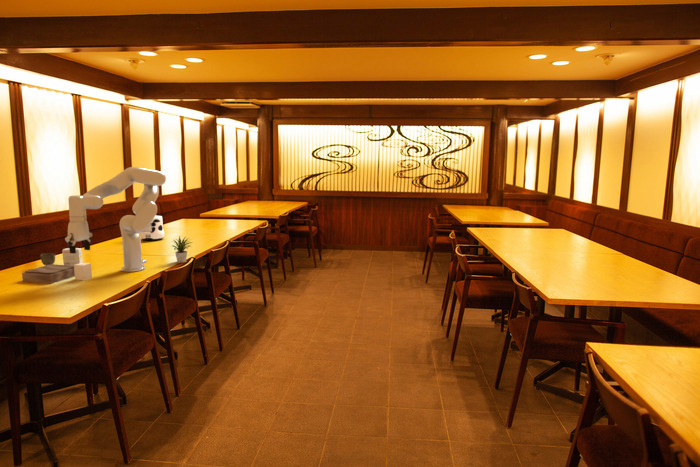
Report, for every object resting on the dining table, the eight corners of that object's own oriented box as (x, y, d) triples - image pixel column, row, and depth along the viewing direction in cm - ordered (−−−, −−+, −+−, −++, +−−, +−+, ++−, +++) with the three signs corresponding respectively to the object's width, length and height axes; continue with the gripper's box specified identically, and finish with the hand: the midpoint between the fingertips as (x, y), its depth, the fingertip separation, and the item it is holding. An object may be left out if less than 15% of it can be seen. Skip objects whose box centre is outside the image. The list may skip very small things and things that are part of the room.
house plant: (185, 265, 274) (183, 238, 272) (164, 264, 277) (163, 237, 274) (197, 260, 288) (196, 234, 285) (177, 259, 291) (176, 233, 288)
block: (83, 277, 246) (81, 262, 244) (91, 277, 244) (90, 263, 243) (75, 279, 240) (73, 265, 239) (84, 280, 239) (82, 265, 238)
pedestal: (51, 272, 253) (51, 263, 253) (79, 274, 250) (78, 265, 249) (22, 281, 236) (21, 271, 235) (52, 283, 232) (51, 273, 232)
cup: (43, 266, 268) (42, 253, 266) (57, 265, 270) (56, 252, 269) (39, 269, 261) (38, 255, 259) (54, 268, 263) (53, 254, 262)
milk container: (160, 237, 368) (159, 214, 365) (167, 240, 355) (166, 217, 352) (137, 239, 357) (136, 216, 354) (144, 242, 344) (143, 218, 341)
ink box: (83, 267, 266) (81, 247, 265) (80, 269, 262) (78, 249, 260) (67, 267, 265) (65, 248, 263) (63, 269, 260) (61, 249, 258)
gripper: (84, 217, 246) (86, 248, 249) (58, 220, 229) (60, 254, 232) (96, 217, 245) (98, 249, 247) (71, 221, 228) (73, 255, 230)
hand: (80, 251), depth 239 cm, fingers open, 9 cm apart
